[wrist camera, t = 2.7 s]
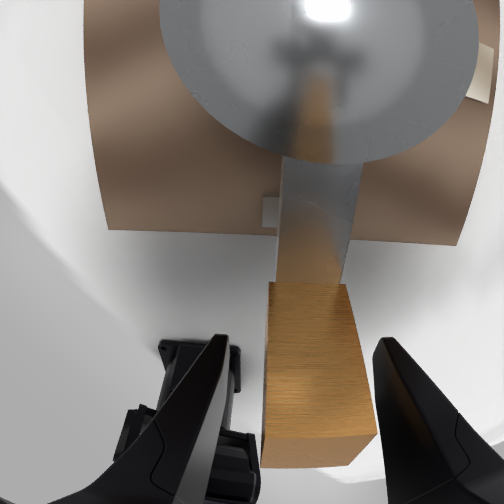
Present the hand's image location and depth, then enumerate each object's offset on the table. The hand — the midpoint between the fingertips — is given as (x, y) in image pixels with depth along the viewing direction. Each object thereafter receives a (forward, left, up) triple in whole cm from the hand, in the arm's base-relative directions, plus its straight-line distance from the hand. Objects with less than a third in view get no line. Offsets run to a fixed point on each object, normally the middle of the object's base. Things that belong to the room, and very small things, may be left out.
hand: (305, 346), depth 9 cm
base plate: (+9, 0, -9) cm, 13 cm away
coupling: (+6, 0, -4) cm, 7 cm away
